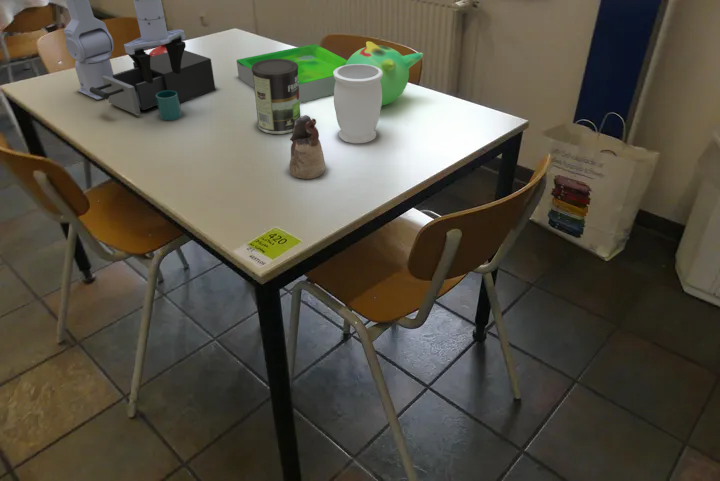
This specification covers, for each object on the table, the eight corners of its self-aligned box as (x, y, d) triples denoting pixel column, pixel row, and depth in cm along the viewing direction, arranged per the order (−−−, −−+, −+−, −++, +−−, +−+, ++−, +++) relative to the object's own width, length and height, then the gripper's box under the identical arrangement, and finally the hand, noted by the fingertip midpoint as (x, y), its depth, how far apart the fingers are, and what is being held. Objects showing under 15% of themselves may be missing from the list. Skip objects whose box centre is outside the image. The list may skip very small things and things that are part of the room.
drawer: (116, 122, 132) (109, 94, 128) (89, 109, 138) (81, 82, 134) (182, 98, 144) (177, 72, 140) (154, 87, 150) (148, 61, 146)
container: (155, 116, 137) (150, 94, 134) (173, 109, 140) (168, 88, 137) (168, 122, 135) (164, 100, 131) (186, 115, 138) (182, 93, 135)
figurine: (309, 159, 120) (306, 105, 113) (332, 170, 116) (330, 116, 109) (283, 170, 116) (278, 116, 109) (306, 183, 112) (303, 127, 105)
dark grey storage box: (170, 106, 142) (164, 74, 137) (140, 94, 148) (132, 62, 143) (215, 89, 151) (210, 58, 146) (185, 78, 157) (179, 48, 152)
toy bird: (366, 85, 154) (367, 29, 146) (422, 97, 147) (426, 40, 139) (330, 107, 142) (328, 49, 133) (389, 123, 135) (391, 62, 126)
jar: (346, 150, 124) (346, 83, 115) (327, 131, 131) (325, 67, 122) (389, 140, 128) (391, 75, 119) (367, 122, 135) (368, 60, 126)
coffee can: (306, 117, 137) (303, 60, 129) (294, 136, 129) (290, 76, 121) (266, 114, 139) (260, 56, 130) (251, 132, 131) (244, 72, 122)
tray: (363, 86, 153) (363, 68, 150) (281, 107, 142) (279, 88, 139) (315, 60, 170) (314, 43, 167) (238, 77, 158) (236, 59, 155)
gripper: (132, 27, 117) (146, 90, 125) (189, 12, 126) (199, 72, 134) (112, 21, 121) (128, 83, 129) (169, 7, 130) (180, 66, 138)
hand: (163, 77), depth 132 cm, fingers open, 7 cm apart
